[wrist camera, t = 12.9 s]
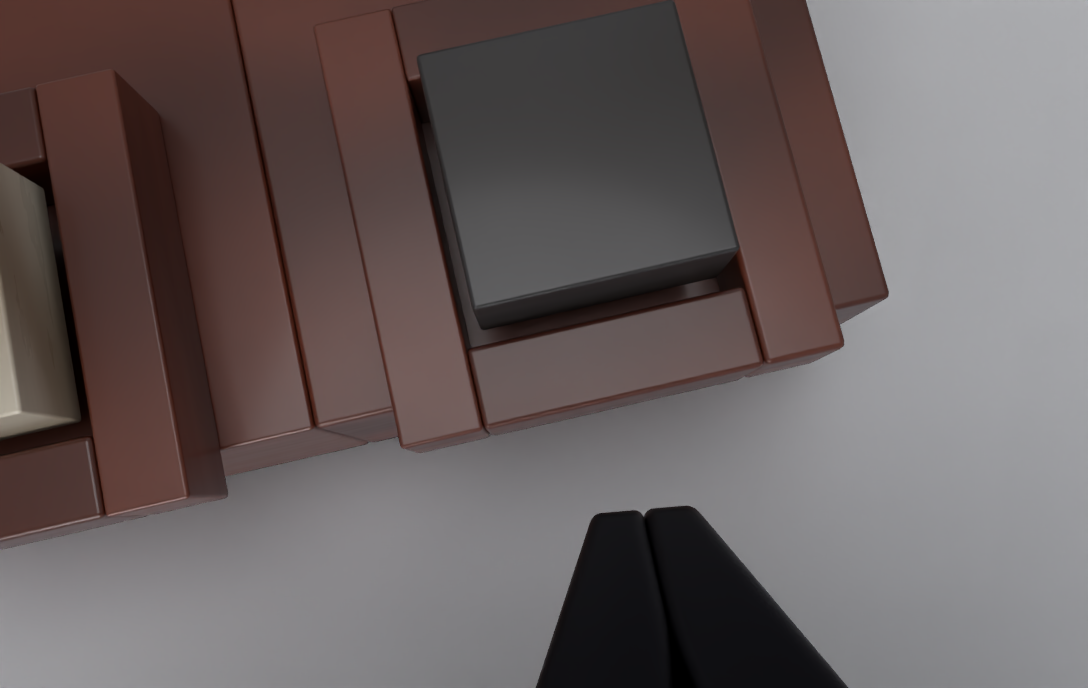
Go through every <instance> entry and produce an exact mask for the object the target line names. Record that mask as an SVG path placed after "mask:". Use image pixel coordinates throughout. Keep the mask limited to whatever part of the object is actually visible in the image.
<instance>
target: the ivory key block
mask: <svg viewBox="0 0 1088 688" xmlns="http://www.w3.org/2000/svg"><path fill="white" fill-rule="evenodd" d="M0 163H2V164H3V165H5V166H7V167H8V168H10V169H12V170H13V171H15V172H17V173H18V174H20V175H22V176H23V177H25V178H27V179H28V180H30V181H32V182H33V183H35V184H37V185H38V186H40V187H42V188H43V189H44V193H45V199H46V205H47V211H48V217H49V224H50V230H51V236H52V242H53V248H54V254H55V260H56V266H57V273H58V279H59V285H60V291H61V297H62V303H63V309H64V315H65V321H66V328H67V334H68V340H69V346H70V352H71V358H72V364H73V370H74V376H75V383H76V389H77V395H78V401H79V407H80V413H81V421H80V422H78V423H74V424H70V425H66V426H61V427H57V428H52V429H48V430H44V431H39V432H35V433H30V434H26V435H22V436H17V437H13V438H8V439H4V440H0V550H2V549H6V548H11V547H15V546H19V545H24V544H28V543H32V542H37V541H41V540H45V539H50V538H54V537H58V536H63V535H67V534H71V533H76V532H80V531H84V530H89V529H93V528H97V527H102V526H106V525H110V524H115V523H119V522H123V521H128V520H132V519H136V518H141V517H145V516H147V515H149V514H159V513H163V512H168V511H172V510H176V509H181V508H185V507H189V506H194V505H198V504H202V503H207V502H211V501H215V500H220V499H224V498H226V497H227V496H228V490H227V485H226V479H225V477H226V476H230V475H234V474H239V473H243V472H247V471H252V470H256V469H260V468H265V467H269V466H273V465H278V464H282V463H287V462H291V461H295V460H300V459H304V458H308V457H313V456H317V455H321V454H326V453H330V452H334V451H339V450H343V449H347V448H352V447H356V446H361V445H365V444H367V443H368V441H365V440H362V439H358V438H354V437H351V436H347V435H343V434H340V433H336V432H332V431H329V430H325V429H321V428H318V427H317V426H316V425H315V422H314V417H313V412H312V407H311V402H310V397H309V392H308V387H307V382H306V377H305V371H304V366H303V361H302V356H301V351H300V346H299V341H298V336H297V331H296V326H295V321H294V316H293V310H292V305H291V300H290V295H289V290H288V285H287V280H286V275H285V270H284V265H283V260H282V255H281V250H280V244H279V239H278V234H277V229H276V224H275V219H274V214H273V209H272V204H271V199H270V194H269V189H268V184H267V178H266V173H265V168H264V163H263V158H262V153H261V148H260V143H259V138H258V133H257V128H256V123H255V117H254V112H253V107H252V102H251V97H250V92H249V87H248V82H247V77H246V72H245V67H244V62H243V57H242V51H241V46H240V41H239V36H238V31H237V26H236V21H235V16H234V11H233V6H232V1H231V0H0Z"/></svg>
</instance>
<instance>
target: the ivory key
mask: <svg viewBox="0 0 1088 688" xmlns="http://www.w3.org/2000/svg"><path fill="white" fill-rule="evenodd" d="M80 421H81V413H80V407H79V401H78V395H77V389H76V383H75V376H74V370H73V364H72V358H71V352H70V346H69V340H68V334H67V328H66V321H65V315H64V309H63V303H62V297H61V291H60V285H59V279H58V273H57V266H56V260H55V254H54V248H53V242H52V236H51V230H50V224H49V217H48V211H47V205H46V199H45V193H44V189H43V188H42V187H40V186H38V185H37V184H35V183H33V182H32V181H30V180H28V179H27V178H25V177H23V176H22V175H20V174H18V173H17V172H15V171H13V170H12V169H10V168H8V167H7V166H5V165H3V164H2V163H0V440H4V439H8V438H13V437H17V436H22V435H26V434H30V433H35V432H39V431H44V430H48V429H52V428H57V427H61V426H66V425H70V424H74V423H78V422H80Z"/></svg>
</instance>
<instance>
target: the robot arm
mask: <svg viewBox="0 0 1088 688" xmlns="http://www.w3.org/2000/svg"><path fill="white" fill-rule="evenodd" d="M536 688H848V687H847V685H846V684H845V683H844V682H843V681H842V680H841V678H840V677H839V676H838V675H837V674H836V673H835V671H834V670H833V669H832V668H831V667H830V665H829V664H828V663H827V662H826V661H825V660H824V658H823V657H822V656H821V655H820V654H819V653H818V651H817V650H816V649H815V648H814V647H813V645H812V644H811V643H810V642H809V641H808V640H807V638H806V637H805V636H804V635H803V634H802V633H801V631H800V630H799V629H798V628H797V627H796V625H795V624H794V623H793V622H792V621H791V620H790V618H789V617H788V616H787V615H786V614H785V612H784V611H783V610H782V609H781V608H780V607H779V605H778V604H777V603H776V602H775V601H774V600H773V598H772V597H771V596H770V595H769V594H768V592H767V591H766V590H765V589H764V588H763V587H762V585H761V584H760V583H759V582H758V581H757V580H756V578H755V577H754V576H753V575H752V574H751V572H750V571H749V570H748V569H747V568H746V567H745V565H744V564H743V563H742V562H741V561H740V560H739V558H738V557H737V556H736V555H735V554H734V552H733V551H732V550H731V549H730V548H729V547H728V545H727V544H726V543H725V542H724V541H723V539H722V538H721V537H720V536H719V535H718V534H717V532H716V531H715V530H714V529H713V528H712V527H711V525H710V524H709V523H708V522H707V521H706V519H705V518H704V517H703V516H702V515H701V514H700V513H699V512H698V511H697V510H696V509H695V508H693V507H691V506H678V507H666V508H655V509H650V510H649V511H647V512H646V513H645V515H644V517H643V515H642V514H641V513H640V512H638V511H635V510H632V511H620V512H609V513H599V514H596V515H595V516H594V517H593V518H592V520H591V522H590V524H589V527H588V530H587V534H586V537H585V540H584V543H583V546H582V549H581V552H580V555H579V558H578V561H577V564H576V567H575V570H574V573H573V576H572V579H571V582H570V585H569V588H568V591H567V594H566V597H565V600H564V603H563V606H562V610H561V613H560V616H559V619H558V622H557V625H556V628H555V631H554V634H553V637H552V640H551V643H550V646H549V649H548V652H547V655H546V658H545V661H544V664H543V667H542V670H541V673H540V676H539V679H538V683H537V686H536Z"/></svg>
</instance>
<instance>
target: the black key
mask: <svg viewBox="0 0 1088 688" xmlns="http://www.w3.org/2000/svg"><path fill="white" fill-rule="evenodd" d="M417 65H418V69H419V73H420V78H421V82H422V87H423V91H424V96H425V100H426V105H427V109H428V114H429V118H430V123H431V127H432V132H433V136H434V141H435V145H436V150H437V154H438V159H439V163H440V168H441V172H442V177H443V181H444V186H445V190H446V194H447V199H448V203H449V208H450V212H451V217H452V221H453V226H454V230H455V235H456V239H457V244H458V248H459V253H460V257H461V262H462V266H463V271H464V275H465V280H466V284H467V289H468V293H469V298H470V302H471V307H472V309H473V311H474V314H475V316H476V319H477V321H478V324H479V326H480V328H481V329H482V330H487V329H491V328H496V327H500V326H505V325H509V324H514V323H518V322H522V321H527V320H531V319H536V318H540V317H544V316H549V315H553V314H558V313H562V312H566V311H571V310H575V309H580V308H584V307H588V306H593V305H597V304H602V303H606V302H610V301H615V300H619V299H624V298H628V297H632V296H637V295H641V294H646V293H650V292H654V291H659V290H663V289H668V288H672V287H676V286H681V285H685V284H690V283H694V282H698V281H703V280H707V279H712V278H716V277H717V276H718V275H719V274H720V273H721V272H722V270H723V269H724V268H725V267H726V265H727V264H728V263H729V261H730V260H731V259H732V258H733V256H734V255H735V254H736V253H737V251H738V250H739V242H738V238H737V235H736V231H735V227H734V223H733V220H732V216H731V212H730V208H729V204H728V201H727V197H726V193H725V189H724V186H723V182H722V178H721V174H720V170H719V167H718V163H717V159H716V155H715V152H714V148H713V144H712V140H711V136H710V133H709V129H708V125H707V121H706V117H705V114H704V110H703V106H702V102H701V99H700V95H699V91H698V87H697V83H696V80H695V76H694V72H693V68H692V65H691V61H690V57H689V53H688V49H687V46H686V42H685V38H684V34H683V31H682V27H681V23H680V19H679V15H678V12H677V8H676V4H675V2H674V1H673V0H667V1H663V2H658V3H654V4H649V5H644V6H640V7H635V8H631V9H626V10H622V11H617V12H612V13H608V14H603V15H599V16H594V17H589V18H585V19H580V20H576V21H571V22H567V23H562V24H557V25H553V26H548V27H544V28H539V29H535V30H530V31H525V32H521V33H516V34H512V35H507V36H503V37H498V38H493V39H489V40H484V41H480V42H475V43H470V44H466V45H461V46H457V47H452V48H448V49H443V50H438V51H434V52H429V53H425V54H420V55H418V56H417Z"/></svg>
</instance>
